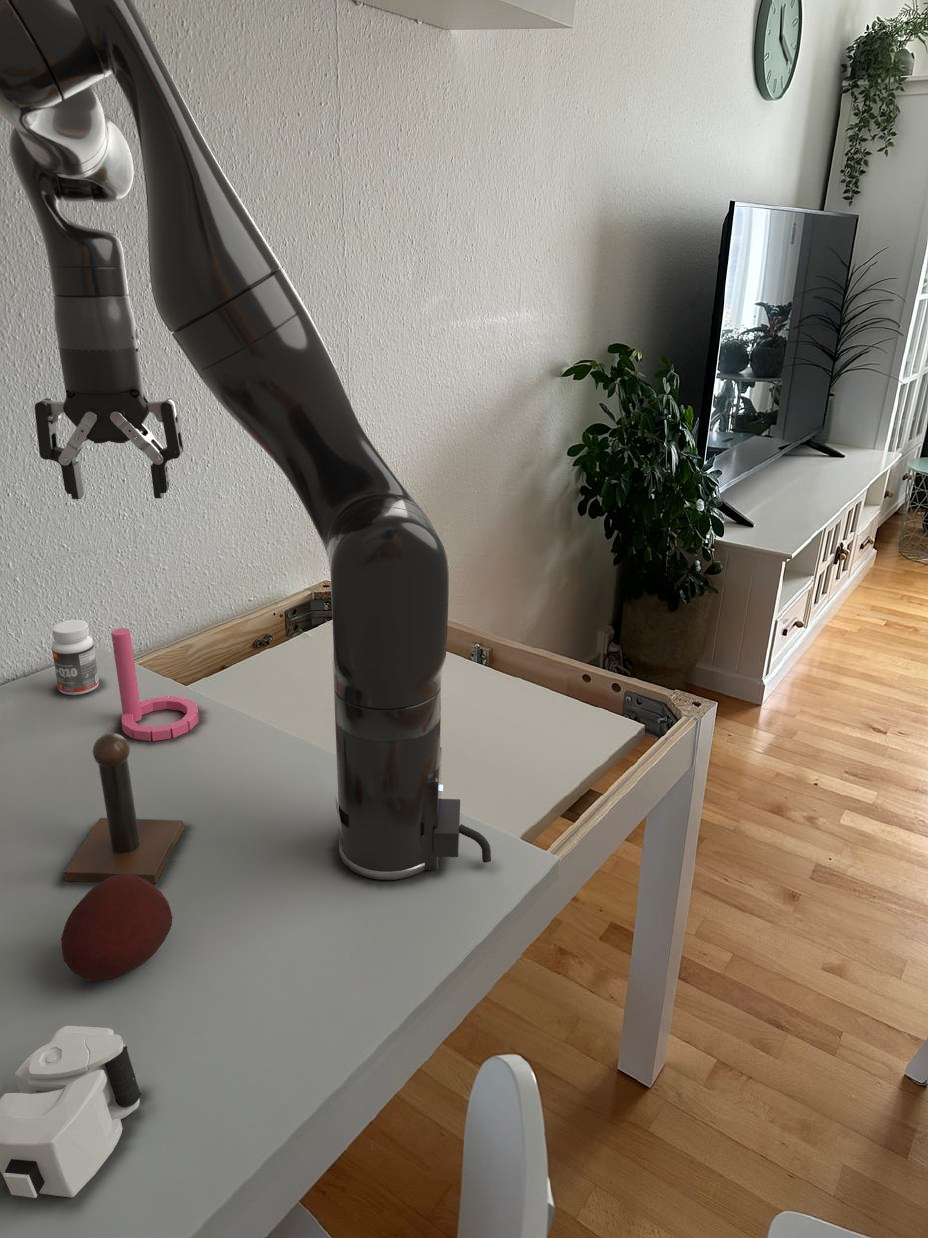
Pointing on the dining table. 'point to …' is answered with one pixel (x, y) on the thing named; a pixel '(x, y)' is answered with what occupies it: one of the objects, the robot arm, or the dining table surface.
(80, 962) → the potato
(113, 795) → the stand
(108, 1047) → the white plastic gadget
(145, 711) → the pink ring with post
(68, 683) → the pill bottle
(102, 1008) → the dining table surface
